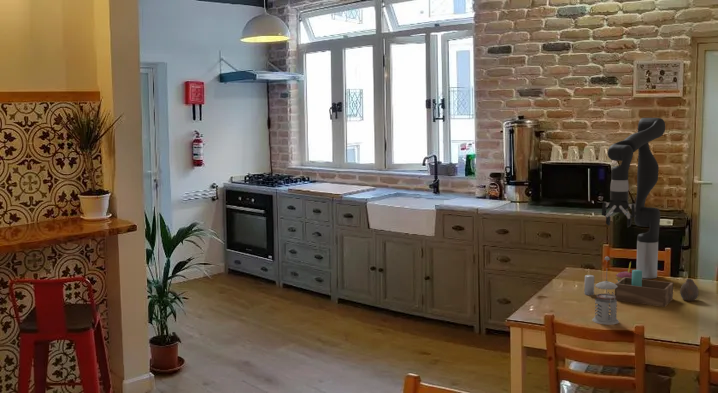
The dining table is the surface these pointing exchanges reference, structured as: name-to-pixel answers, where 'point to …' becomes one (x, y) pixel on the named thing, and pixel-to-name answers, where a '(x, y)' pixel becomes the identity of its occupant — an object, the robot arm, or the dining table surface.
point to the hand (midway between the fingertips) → (618, 226)
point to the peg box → (644, 292)
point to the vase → (689, 290)
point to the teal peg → (637, 278)
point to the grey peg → (589, 285)
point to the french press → (606, 303)
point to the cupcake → (624, 274)
